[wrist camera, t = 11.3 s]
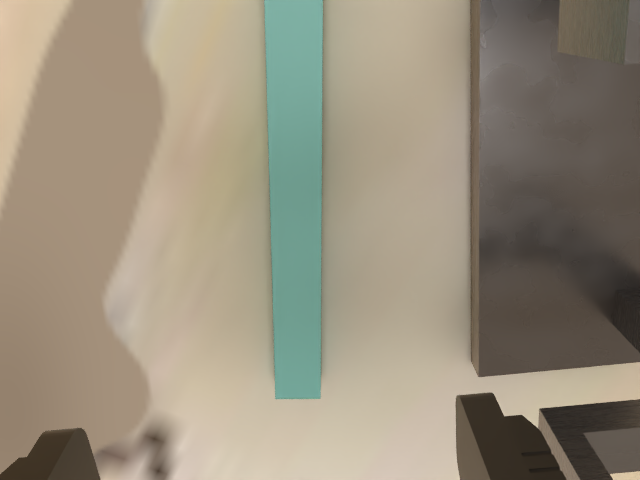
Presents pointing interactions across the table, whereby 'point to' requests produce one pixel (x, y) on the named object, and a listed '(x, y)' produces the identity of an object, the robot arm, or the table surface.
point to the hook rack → (558, 209)
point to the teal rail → (295, 190)
